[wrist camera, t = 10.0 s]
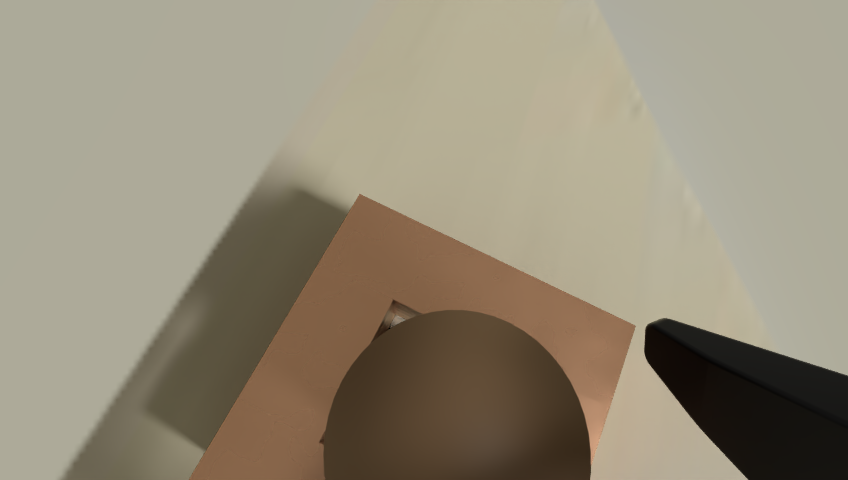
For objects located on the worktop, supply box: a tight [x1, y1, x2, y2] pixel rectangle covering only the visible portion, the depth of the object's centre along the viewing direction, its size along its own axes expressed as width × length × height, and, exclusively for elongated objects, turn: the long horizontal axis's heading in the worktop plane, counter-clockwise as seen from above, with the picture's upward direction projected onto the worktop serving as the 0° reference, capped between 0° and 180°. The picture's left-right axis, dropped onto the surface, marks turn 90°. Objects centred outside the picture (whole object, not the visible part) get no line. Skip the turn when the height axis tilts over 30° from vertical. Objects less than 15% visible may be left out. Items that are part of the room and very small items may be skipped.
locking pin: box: [323, 310, 591, 480], centre depth 12 cm, size 4×4×13 cm
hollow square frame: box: [189, 194, 636, 480], centre depth 17 cm, size 12×12×4 cm
